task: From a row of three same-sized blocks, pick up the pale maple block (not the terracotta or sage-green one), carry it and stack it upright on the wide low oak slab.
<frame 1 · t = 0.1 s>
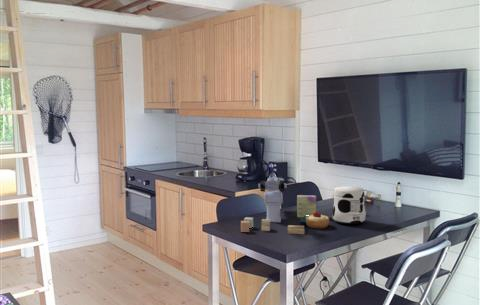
hand: (271, 187, 219), 22 cm above the table, tool horizontal, fingers open, 7 cm apart
sage block: (248, 228, 226), on the table
maple block: (265, 229, 221), on the table
coffee cup: (340, 213, 257), on the table
terracotta block: (245, 231, 219), on the table
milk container: (348, 222, 235), on the table
oak slab: (295, 232, 218), on the table
box: (306, 216, 249), on the table
pastry: (317, 226, 227), on the table
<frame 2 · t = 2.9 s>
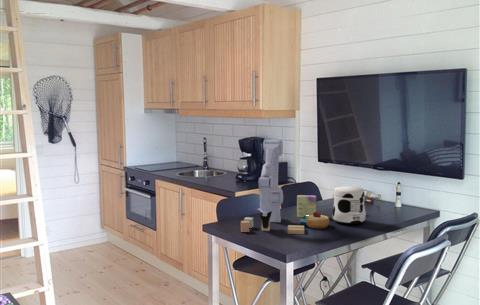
hand: (265, 227, 221), 1 cm above the table, tool pointing down, fingers closed on maple block, 4 cm apart
maple block: (265, 229, 221), on the table, touching gripper
everything else where it was.
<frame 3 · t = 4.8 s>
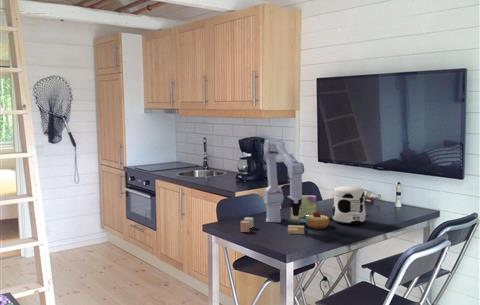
hand: (295, 214, 217), 8 cm above the table, tool pointing down, fingers closed on maple block, 4 cm apart
maple block: (294, 218, 217), point 6 cm above the table, touching gripper
everything else where it was.
when the fingers open (5 cm above the table, at t = 6.2 s): maple block drops 1 cm, point 2 cm above the table.
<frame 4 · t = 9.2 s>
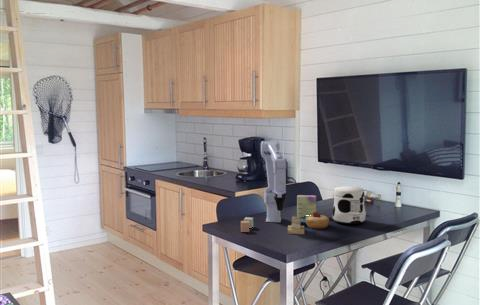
hand: (280, 208, 224), 10 cm above the table, tool pointing down, fingers open, 7 cm apart
maple block: (296, 227, 217), point 2 cm above the table
everything else where it was.
at the end: maple block 0.2 cm off-centre on the oak slab, point 2.5 cm above the oak slab's base; maple block tilted 0°; the gripper is holding nothing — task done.
